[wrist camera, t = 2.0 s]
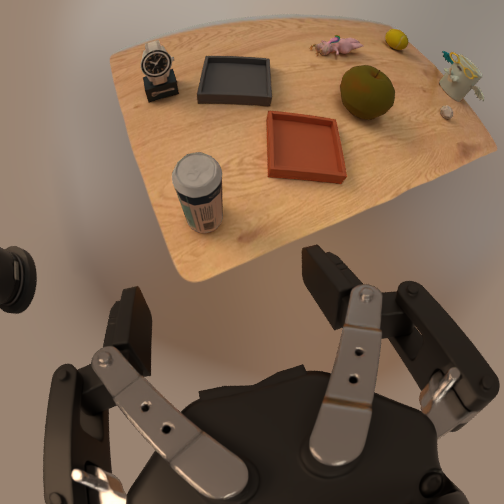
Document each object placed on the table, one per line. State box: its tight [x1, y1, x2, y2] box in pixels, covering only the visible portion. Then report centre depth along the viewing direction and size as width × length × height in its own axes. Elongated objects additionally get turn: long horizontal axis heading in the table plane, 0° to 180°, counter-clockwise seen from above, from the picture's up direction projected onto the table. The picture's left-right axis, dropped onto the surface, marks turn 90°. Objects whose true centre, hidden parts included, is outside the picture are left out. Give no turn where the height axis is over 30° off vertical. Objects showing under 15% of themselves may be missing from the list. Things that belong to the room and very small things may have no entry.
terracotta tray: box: [267, 111, 347, 184], centre depth 38 cm, size 11×11×2 cm
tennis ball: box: [385, 29, 408, 50], centre depth 51 cm, size 7×7×7 cm
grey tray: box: [197, 56, 272, 106], centre depth 41 cm, size 12×12×2 cm
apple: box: [340, 65, 395, 120], centre depth 38 cm, size 10×10×11 cm
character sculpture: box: [439, 51, 484, 101], centre depth 46 cm, size 20×12×13 cm, turn 19°
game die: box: [441, 106, 453, 119], centre depth 46 cm, size 4×4×3 cm
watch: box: [141, 40, 179, 102], centre depth 35 cm, size 6×8×11 cm
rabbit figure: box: [310, 35, 363, 56], centre depth 46 cm, size 6×6×15 cm
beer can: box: [172, 152, 223, 233], centre depth 29 cm, size 5×5×12 cm
